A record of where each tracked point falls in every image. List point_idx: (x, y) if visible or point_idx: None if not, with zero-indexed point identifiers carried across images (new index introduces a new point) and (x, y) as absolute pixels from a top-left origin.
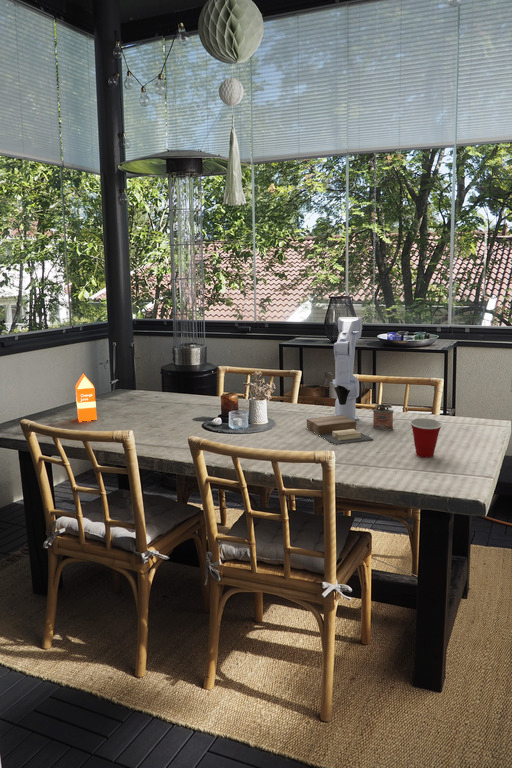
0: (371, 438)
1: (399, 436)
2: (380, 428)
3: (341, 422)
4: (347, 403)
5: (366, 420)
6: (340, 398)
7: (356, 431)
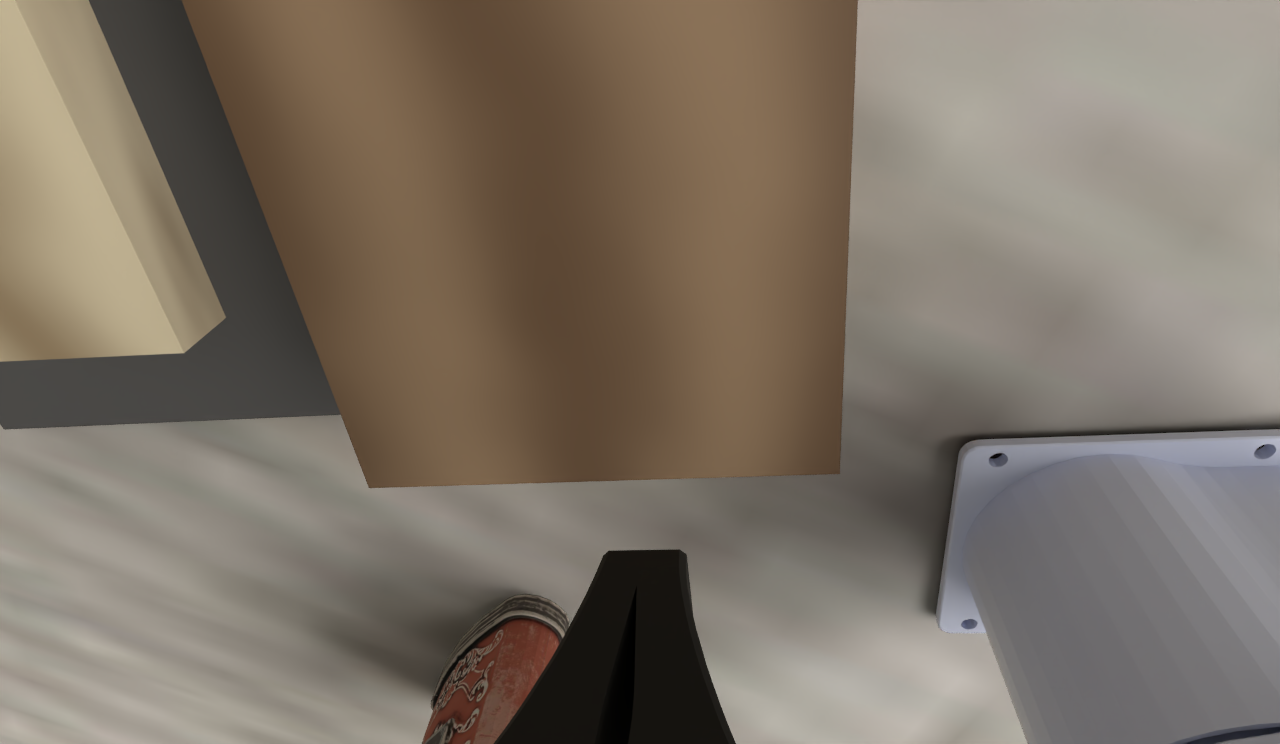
0: (20, 419)
1: (186, 650)
2: (468, 635)
3: (329, 278)
4: (1067, 722)
5: (867, 657)
6: (537, 681)
7: (37, 335)
